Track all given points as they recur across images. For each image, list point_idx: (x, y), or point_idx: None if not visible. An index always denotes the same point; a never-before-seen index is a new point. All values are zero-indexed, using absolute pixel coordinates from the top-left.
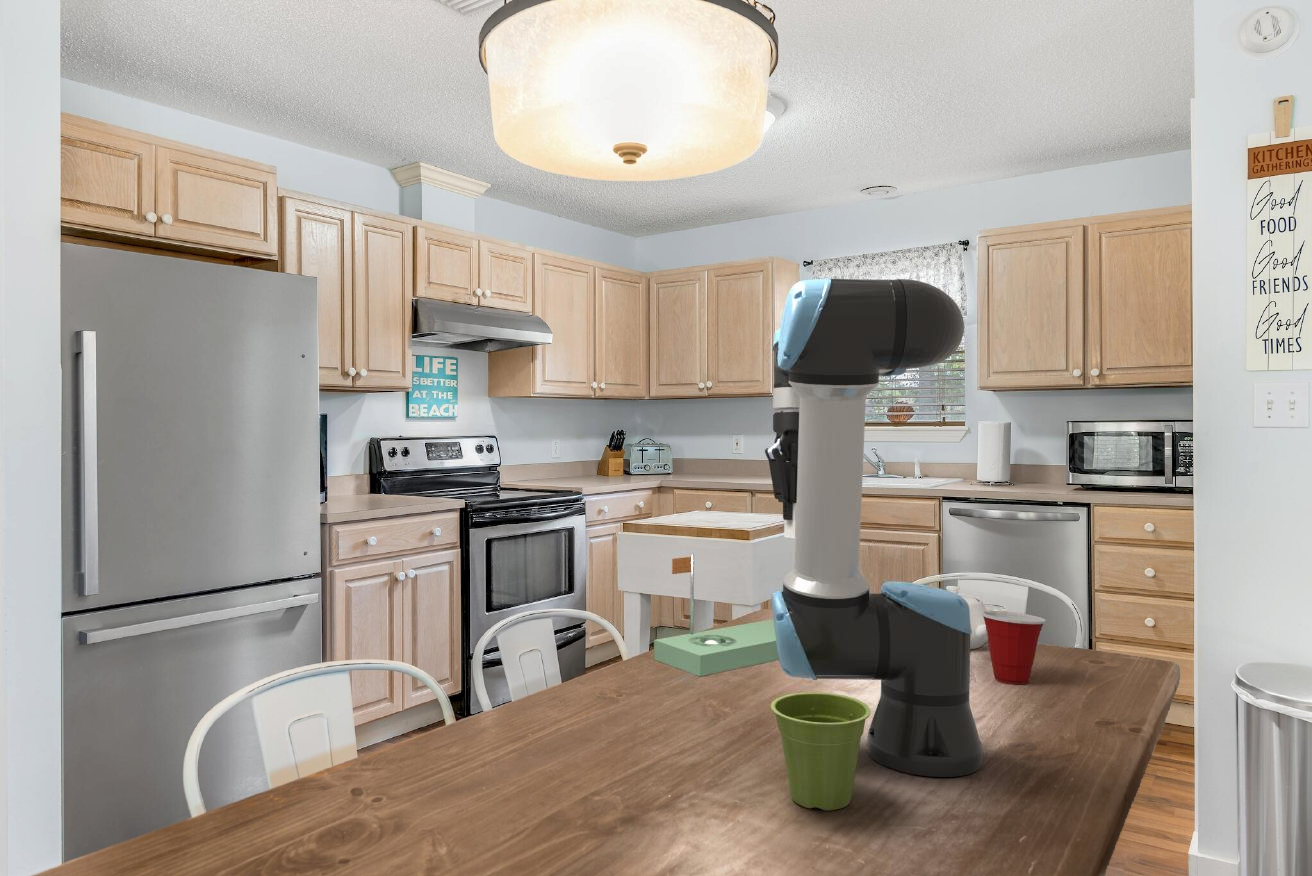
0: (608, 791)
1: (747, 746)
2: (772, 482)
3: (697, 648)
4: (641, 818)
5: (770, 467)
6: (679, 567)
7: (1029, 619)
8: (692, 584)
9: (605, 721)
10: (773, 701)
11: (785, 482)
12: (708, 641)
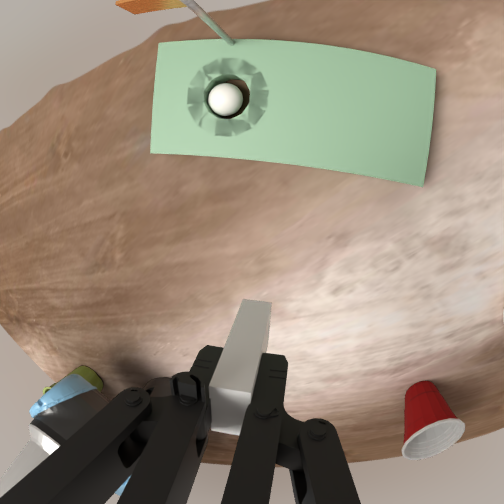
0: (14, 294)
1: (90, 317)
2: (70, 439)
3: (173, 119)
4: (21, 323)
5: (15, 490)
6: (144, 7)
7: (454, 436)
8: (200, 17)
9: (35, 207)
10: (47, 387)
11: (114, 484)
12: (215, 97)
